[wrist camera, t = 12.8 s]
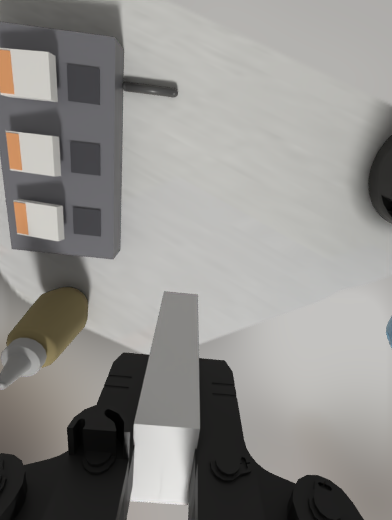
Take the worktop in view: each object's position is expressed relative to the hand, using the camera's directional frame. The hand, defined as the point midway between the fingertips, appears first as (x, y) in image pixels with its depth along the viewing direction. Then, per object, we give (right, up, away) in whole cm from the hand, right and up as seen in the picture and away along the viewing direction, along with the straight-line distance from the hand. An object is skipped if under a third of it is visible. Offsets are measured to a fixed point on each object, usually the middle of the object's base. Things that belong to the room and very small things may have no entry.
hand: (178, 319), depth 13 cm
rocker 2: (-19, +8, +24) cm, 31 cm away
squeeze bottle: (-20, -4, +34) cm, 40 cm away
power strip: (-13, +17, +26) cm, 34 cm away
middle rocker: (-18, +15, +21) cm, 32 cm away
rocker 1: (-17, +23, +18) cm, 34 cm away
